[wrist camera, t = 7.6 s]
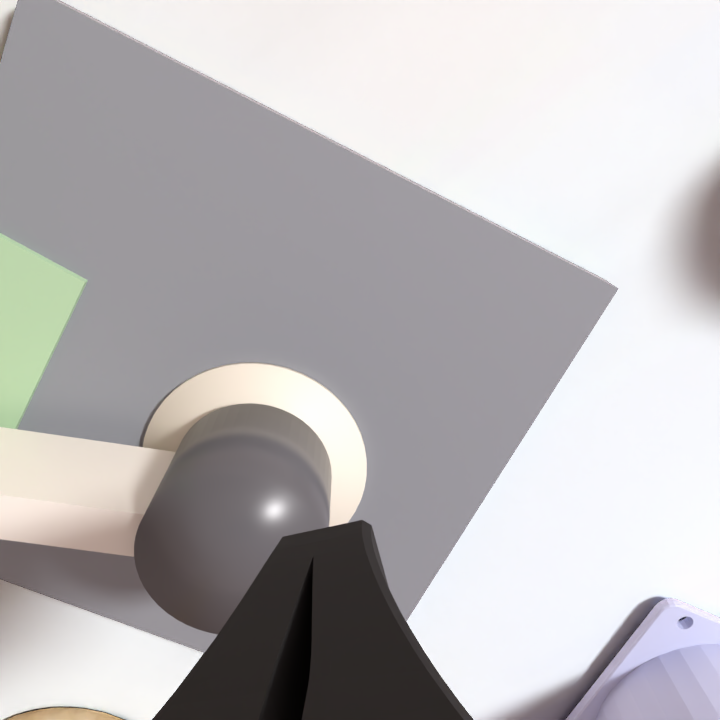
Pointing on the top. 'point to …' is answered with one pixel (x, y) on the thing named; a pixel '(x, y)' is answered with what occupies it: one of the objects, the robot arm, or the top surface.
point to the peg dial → (173, 502)
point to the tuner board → (254, 301)
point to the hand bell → (64, 714)
